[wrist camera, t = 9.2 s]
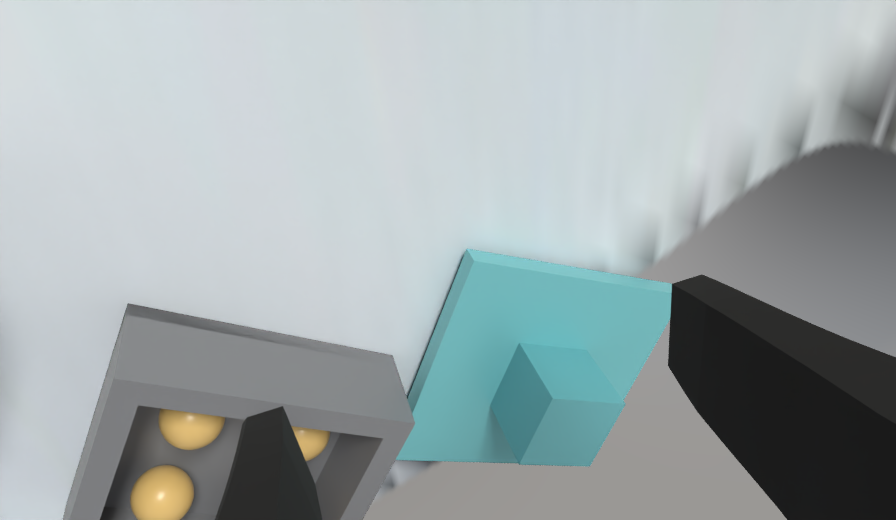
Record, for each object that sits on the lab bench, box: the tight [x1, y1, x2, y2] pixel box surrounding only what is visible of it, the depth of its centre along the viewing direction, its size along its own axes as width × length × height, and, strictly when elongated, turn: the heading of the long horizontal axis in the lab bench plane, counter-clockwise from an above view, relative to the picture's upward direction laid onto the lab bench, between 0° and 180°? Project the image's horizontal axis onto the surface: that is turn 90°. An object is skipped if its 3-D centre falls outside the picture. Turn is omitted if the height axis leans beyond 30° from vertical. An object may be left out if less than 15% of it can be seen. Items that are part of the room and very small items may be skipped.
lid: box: [396, 249, 672, 466], centre depth 25 cm, size 9×9×4 cm
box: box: [63, 304, 415, 520], centre depth 23 cm, size 9×9×4 cm
